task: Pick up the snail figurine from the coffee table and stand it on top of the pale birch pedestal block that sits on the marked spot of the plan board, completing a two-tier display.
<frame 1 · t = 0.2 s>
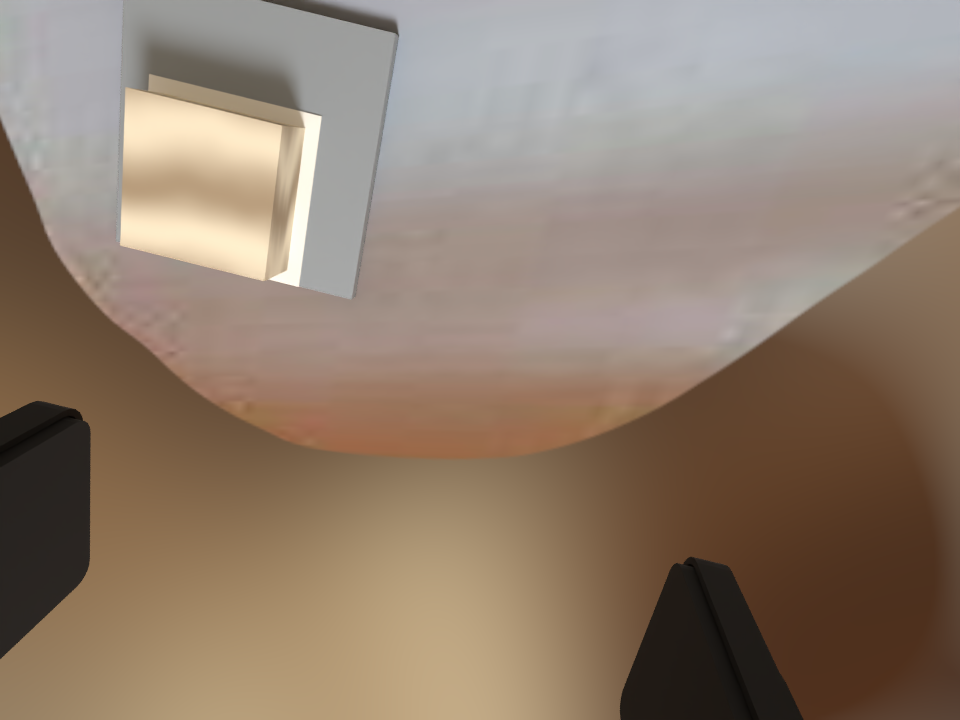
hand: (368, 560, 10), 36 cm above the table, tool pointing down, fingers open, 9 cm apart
plan board: (252, 144, 43), on the table
pedestal block: (227, 185, 43), point 1 cm above the table, touching plan board
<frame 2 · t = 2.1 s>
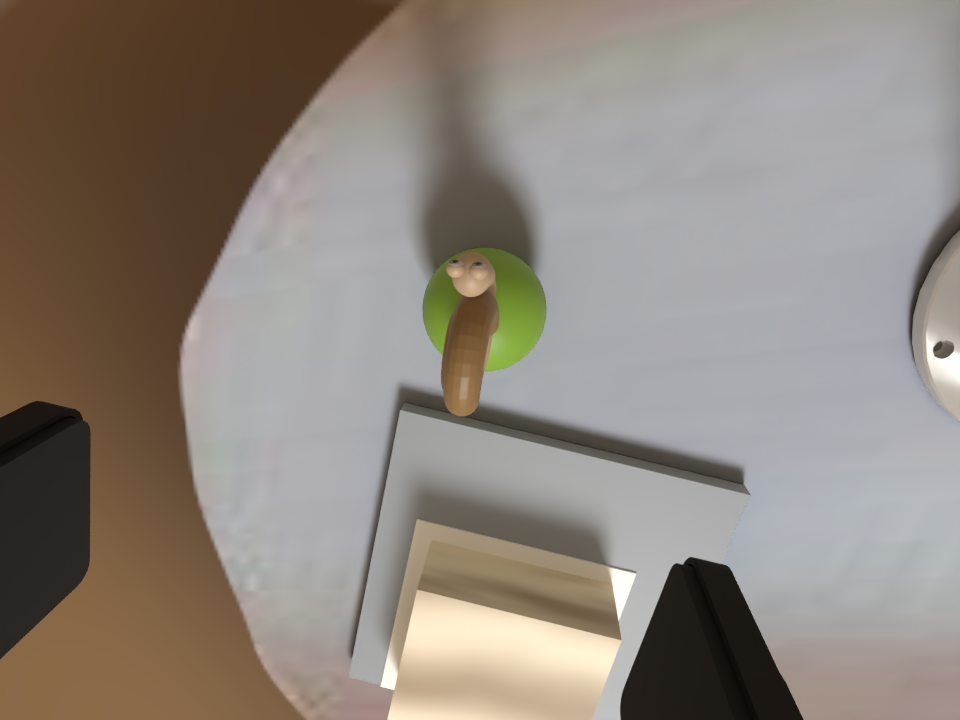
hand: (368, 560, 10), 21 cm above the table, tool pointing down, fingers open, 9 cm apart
plan board: (531, 582, 35), on the table
snail figurine: (490, 285, 30), on the table
pedestal block: (500, 633, 35), point 1 cm above the table, touching plan board
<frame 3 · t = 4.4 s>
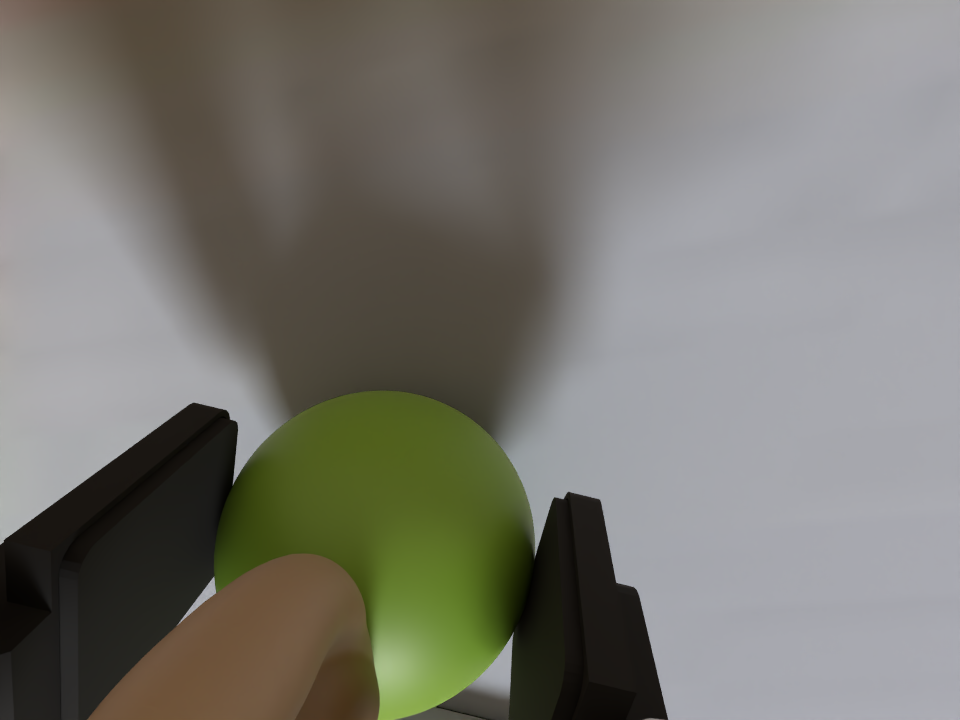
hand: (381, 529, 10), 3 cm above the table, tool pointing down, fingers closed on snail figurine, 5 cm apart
snail figurine: (413, 444, 13), on the table, touching gripper
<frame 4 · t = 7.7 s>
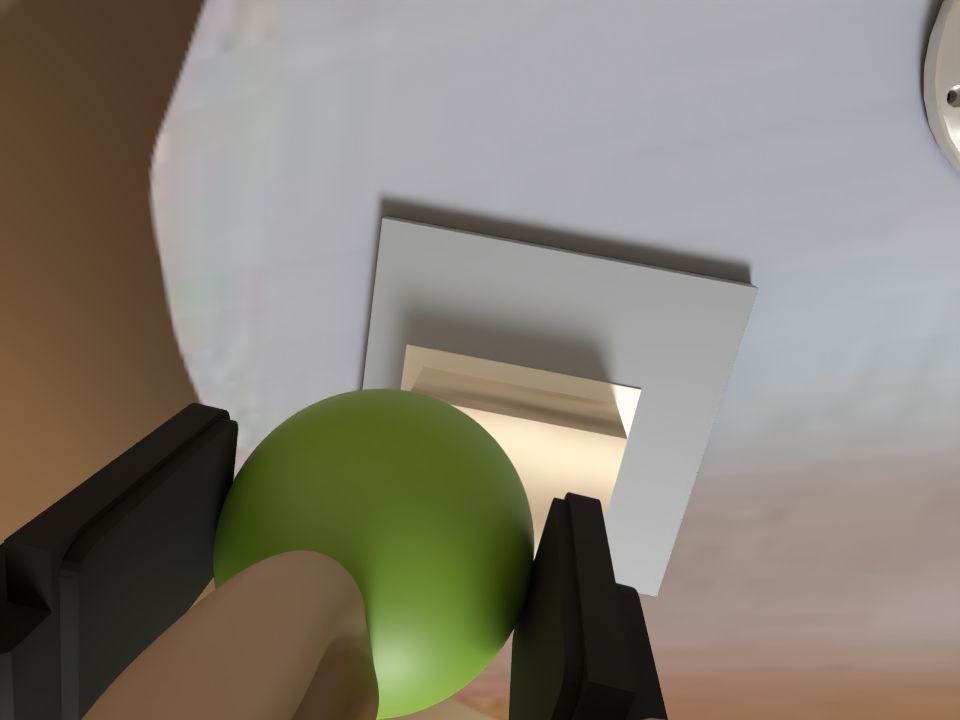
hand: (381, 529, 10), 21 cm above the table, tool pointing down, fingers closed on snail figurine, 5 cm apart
plan board: (531, 415, 33), on the table
snail figurine: (413, 443, 13), point 18 cm above the table, touching gripper
pedestal block: (501, 470, 33), point 1 cm above the table, touching plan board
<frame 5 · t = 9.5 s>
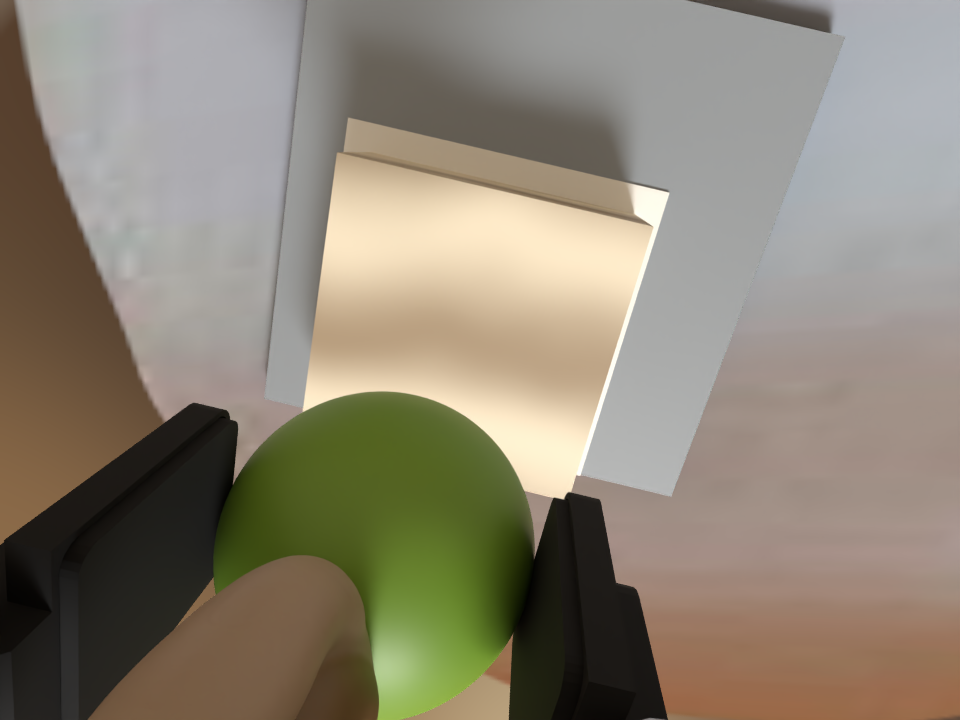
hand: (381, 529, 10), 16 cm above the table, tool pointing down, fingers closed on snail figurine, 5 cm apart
plan board: (516, 238, 24), on the table
snail figurine: (412, 445, 13), point 13 cm above the table, touching gripper
pedestal block: (473, 310, 24), point 1 cm above the table, touching plan board
when the fingers open (9 cm above the table, at t = 11.0 s): snail figurine drops 1 cm, resting on pedestal block.
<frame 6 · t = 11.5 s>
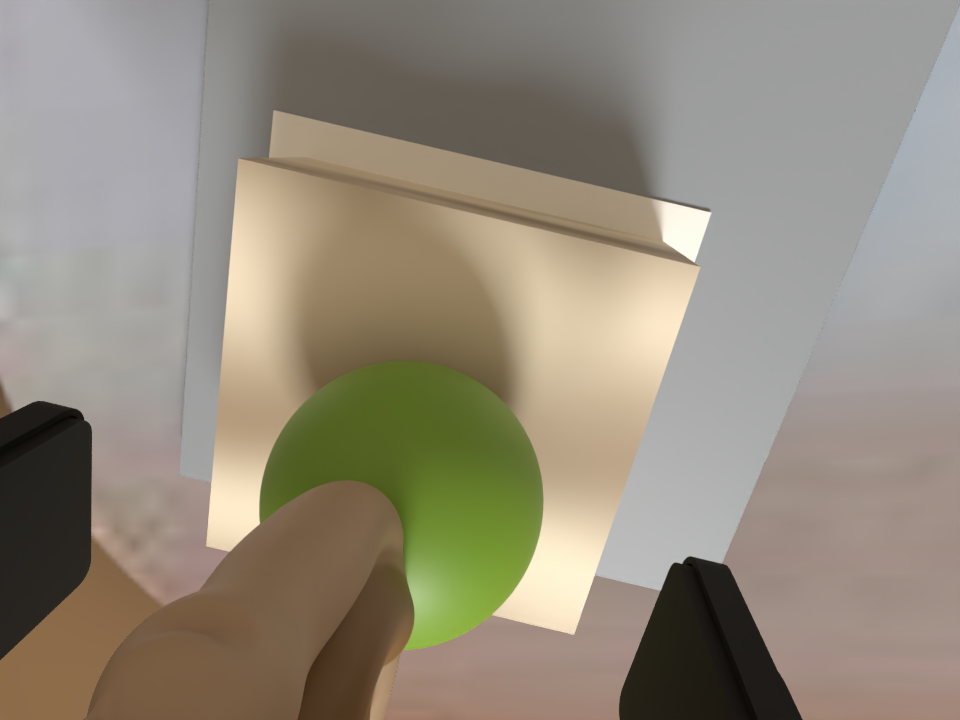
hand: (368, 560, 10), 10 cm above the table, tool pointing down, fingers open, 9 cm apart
plan board: (504, 271, 18), on the table
snail figurine: (430, 415, 15), point 5 cm above the table, touching pedestal block
pedestal block: (447, 367, 18), point 1 cm above the table, touching plan board, snail figurine
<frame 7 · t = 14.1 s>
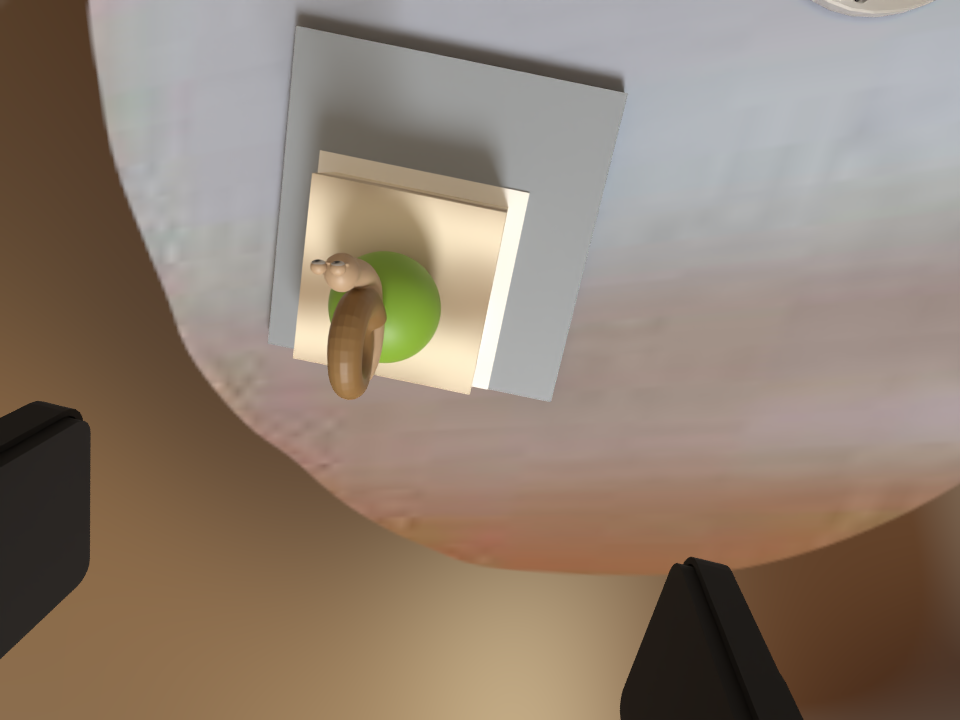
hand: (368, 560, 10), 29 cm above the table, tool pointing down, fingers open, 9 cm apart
plan board: (435, 226, 36), on the table
snail figurine: (397, 286, 33), point 5 cm above the table, touching pedestal block
pedestal block: (408, 275, 36), point 1 cm above the table, touching plan board, snail figurine
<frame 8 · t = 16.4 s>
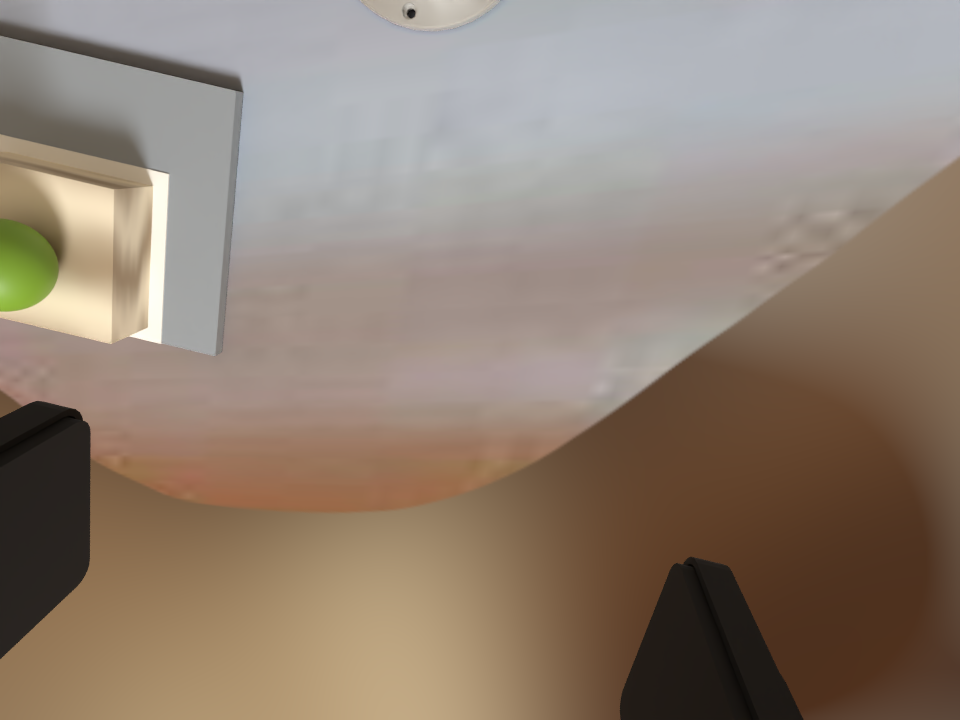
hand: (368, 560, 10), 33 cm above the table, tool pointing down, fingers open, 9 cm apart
plan board: (105, 201, 42), on the table
snail figurine: (39, 249, 39), point 5 cm above the table, touching pedestal block
pedestal block: (80, 242, 42), point 1 cm above the table, touching plan board, snail figurine
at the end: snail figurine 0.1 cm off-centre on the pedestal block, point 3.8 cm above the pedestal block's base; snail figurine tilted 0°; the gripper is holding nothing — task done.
